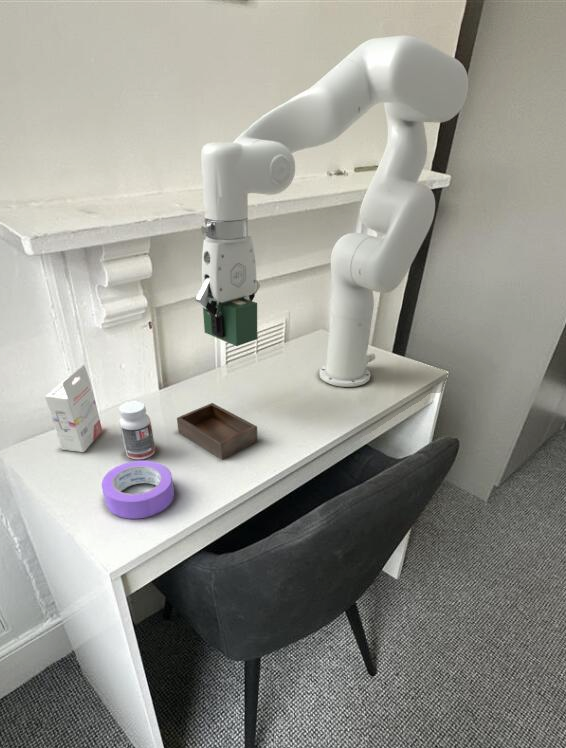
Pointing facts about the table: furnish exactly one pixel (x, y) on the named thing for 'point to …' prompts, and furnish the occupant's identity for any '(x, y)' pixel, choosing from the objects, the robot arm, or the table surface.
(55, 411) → the ink cartridge box
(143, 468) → the tape roll
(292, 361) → the table surface
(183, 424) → the caddy
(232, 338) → the green box
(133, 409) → the pill bottle
